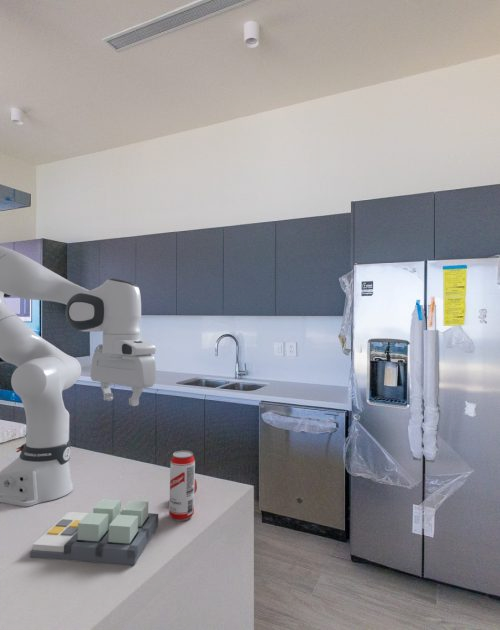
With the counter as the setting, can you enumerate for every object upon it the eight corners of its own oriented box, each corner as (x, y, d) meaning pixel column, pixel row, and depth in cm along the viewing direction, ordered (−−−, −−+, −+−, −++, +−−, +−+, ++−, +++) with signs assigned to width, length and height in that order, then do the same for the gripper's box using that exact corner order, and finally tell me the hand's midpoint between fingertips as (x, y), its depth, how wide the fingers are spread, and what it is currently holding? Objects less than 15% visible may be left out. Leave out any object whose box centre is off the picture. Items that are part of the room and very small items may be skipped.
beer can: (182, 525, 96) (183, 459, 96) (163, 517, 99) (165, 454, 99) (198, 514, 101) (200, 452, 101) (180, 508, 104) (181, 448, 105)
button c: (108, 542, 82) (108, 525, 82) (117, 530, 87) (118, 514, 87) (129, 543, 82) (130, 526, 82) (137, 531, 87) (138, 515, 87)
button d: (121, 525, 89) (122, 509, 89) (129, 515, 94) (129, 500, 94) (141, 526, 89) (141, 511, 89) (148, 516, 93) (148, 501, 93)
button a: (77, 539, 83) (78, 523, 83) (88, 528, 88) (88, 512, 88) (98, 541, 83) (98, 524, 83) (108, 529, 87) (108, 514, 87)
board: (29, 557, 82) (30, 542, 82) (69, 520, 97) (69, 508, 97) (134, 565, 80) (135, 550, 80) (158, 526, 95) (158, 513, 95)
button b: (93, 523, 90) (93, 508, 90) (102, 513, 94) (102, 498, 94) (112, 524, 89) (112, 509, 89) (120, 514, 94) (121, 500, 94)
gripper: (84, 344, 98) (83, 399, 98) (139, 348, 87) (138, 411, 86) (106, 343, 103) (104, 396, 103) (160, 347, 92) (159, 406, 92)
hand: (120, 402), depth 94 cm, fingers open, 8 cm apart
